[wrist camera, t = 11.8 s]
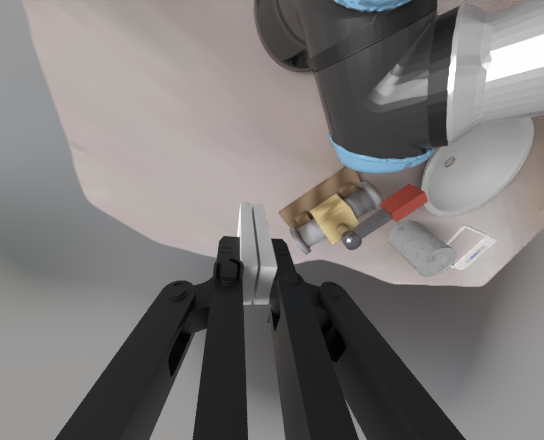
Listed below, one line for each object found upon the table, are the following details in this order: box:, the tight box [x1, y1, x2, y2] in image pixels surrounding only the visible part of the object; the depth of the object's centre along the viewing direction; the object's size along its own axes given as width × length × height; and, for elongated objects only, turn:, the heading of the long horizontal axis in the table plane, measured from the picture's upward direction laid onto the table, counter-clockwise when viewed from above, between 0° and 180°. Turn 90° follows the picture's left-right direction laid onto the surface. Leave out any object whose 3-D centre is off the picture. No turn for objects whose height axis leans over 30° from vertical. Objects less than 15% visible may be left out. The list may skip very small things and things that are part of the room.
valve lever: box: [341, 184, 428, 250], centre depth 37 cm, size 3×16×4 cm, turn 129°
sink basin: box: [421, 117, 534, 217], centre depth 46 cm, size 24×24×7 cm
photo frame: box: [445, 225, 497, 271], centre depth 67 cm, size 15×1×18 cm
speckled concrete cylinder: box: [387, 221, 456, 277], centre depth 54 cm, size 10×10×12 cm
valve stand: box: [279, 166, 383, 254], centre depth 45 cm, size 20×11×13 cm, turn 125°
